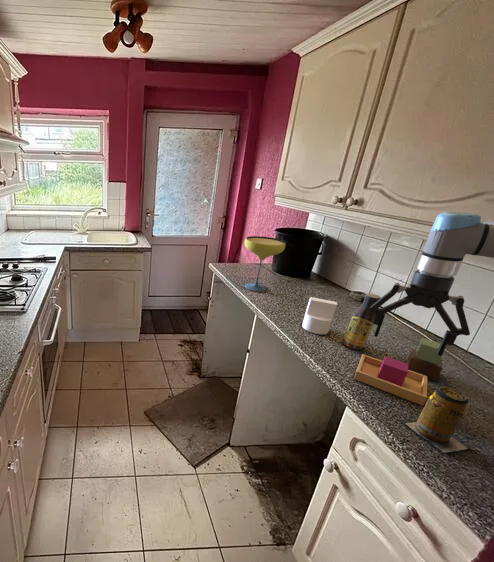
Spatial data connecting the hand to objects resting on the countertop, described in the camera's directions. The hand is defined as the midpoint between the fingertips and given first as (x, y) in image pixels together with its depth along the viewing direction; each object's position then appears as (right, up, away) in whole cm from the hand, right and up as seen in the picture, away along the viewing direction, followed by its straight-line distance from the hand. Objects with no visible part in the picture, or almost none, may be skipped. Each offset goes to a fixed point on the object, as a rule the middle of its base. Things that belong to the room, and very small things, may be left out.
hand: (406, 343), depth 88 cm
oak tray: (-1, -12, +5) cm, 13 cm away
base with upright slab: (-4, -1, +34) cm, 34 cm away
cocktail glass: (-11, +14, +72) cm, 74 cm away
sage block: (+14, -6, +8) cm, 18 cm away
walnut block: (+14, -11, +10) cm, 20 cm away
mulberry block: (-1, -12, +5) cm, 13 cm away
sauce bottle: (+2, -6, +23) cm, 24 cm away
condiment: (-6, -20, -13) cm, 24 cm away
